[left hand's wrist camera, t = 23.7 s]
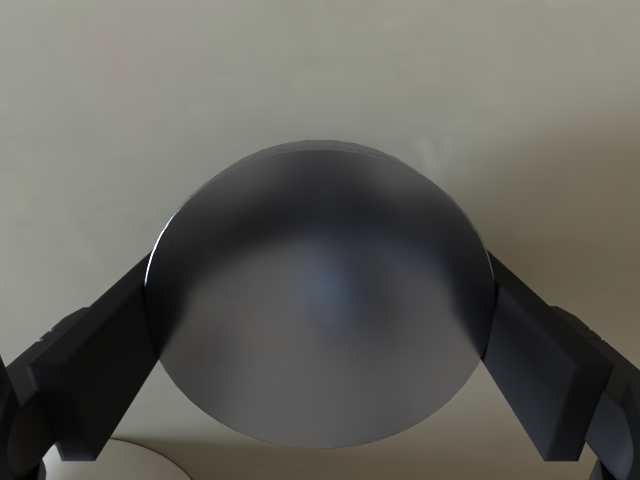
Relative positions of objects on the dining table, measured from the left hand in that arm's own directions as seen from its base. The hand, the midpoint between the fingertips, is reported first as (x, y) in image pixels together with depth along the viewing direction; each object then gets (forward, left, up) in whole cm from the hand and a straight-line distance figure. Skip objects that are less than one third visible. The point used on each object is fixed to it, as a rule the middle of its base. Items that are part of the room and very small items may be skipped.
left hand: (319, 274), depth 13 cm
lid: (0, 0, +3) cm, 3 cm away
